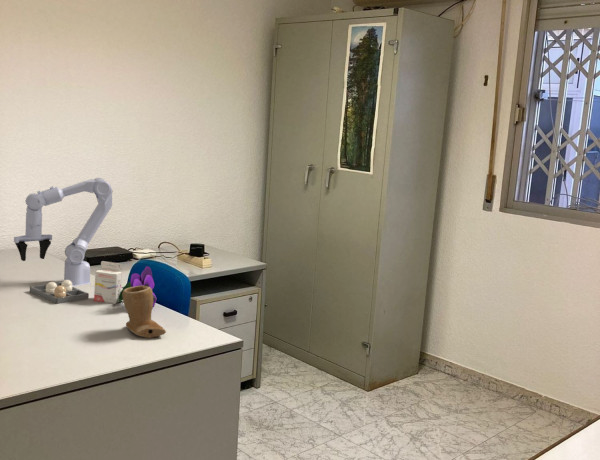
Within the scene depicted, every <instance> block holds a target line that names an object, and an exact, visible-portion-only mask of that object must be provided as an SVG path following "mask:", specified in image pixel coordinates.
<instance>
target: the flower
mask: <svg viewBox="0 0 600 460" xmlns="http://www.w3.org/2000/svg"><path fill="white" fill-rule="evenodd" d="M135 286H147V287H150V288H151V289H152V290H153V289H154V287H155V282H154V278H153V272H152V268H151V267H150V266H145V267H144V269H143V270H142V272H141V274H139V273H136V272H135V273H132V274H131V277H130V281H128V283H126V284H125V285H124V286H123V288H121V292H120V295H119V298H118V299H119V303H121V304H123V303H124V302H123V296H122V293H123V290H125V289H126V288H129V287H135ZM156 302H157V296H156V295H155V293H154V292H153V307H152V308H154V307H155V304H156ZM123 305H124V304H123Z"/></svg>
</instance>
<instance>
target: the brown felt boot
mask: <svg viewBox="0 0 600 460" xmlns="http://www.w3.org/2000/svg"><path fill="white" fill-rule="evenodd" d="M153 293H154V292H153V289H151V288H150V287H147V286H135V287H129V288H126V289H125V290H123V293H122V296H123V300H122V301H123V302H124V304H123V305H124V308H125V309H126V312H127V314H128V316H127V317H128V319H129V320H128V321H127V322H125V326H126V328H127V329H128V330H129V331H130V332H132V333H133V334H135V335H136V336H139V337H142V338H148V339H152V338H156V337H160V336H162V335H165V334H166V333H167V330H166V329H165V328H163V326H161V325H160V324H159V323H158V322H156V321H155V320H153V319H152V312H153V308H154V307H153ZM123 302H122V303H123Z"/></svg>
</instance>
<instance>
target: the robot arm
mask: <svg viewBox="0 0 600 460" xmlns="http://www.w3.org/2000/svg"><path fill="white" fill-rule="evenodd" d="M113 191H114V190H113V188H112V186H111V184H110V182H108V181H107V180H105V179H104V178H102V177H95V178H94V179H93V178H92V179H88V180H87V179H86V180H83V181H80V182H77V183H74V184H72V185H68V186H65V187H63V188H59V187H57V186H53V185H52V186H50V187H49V188H48V189H45V190H41V191H40V190H38V191H36V192H37V193H35V192H32V193H29V194H28V195H27V196H26V198H25V201H24V202H25V204H26V205H27V206H26V212H25V235H19V236H14V237H13V243H14V244H15V246H16V248H17V250H18V252H19V256H20V260H21V261H23V262H26V259H27V250H28V249H27V248H28V243H26V242H38V243H39V259H41V260H45V257H46V254H47V251H48V249H49V247H50V246H51V244H52V240H53V235H52V234H49V233H48V234H42V231H43V230H42V228H43V223H42V222H43V213H42V209H43V207H46V206H50V205H53V204H57V203H60V202H62V201H63V199H64V198H65V197H68V196H71V195H75V194H79V193H83V192H84V193H85V192H86V193H91V194H94V195H95V196H96V200H97V203H98V204H97V205H96V207H95V209H94V210H93V211H92V213H91V215H90V216H89V218H88V220H86V222H85V224H84V225H83V227H82V229H81V230H80V232H79V234H78V235H77V237H76V238H74V239H73V241H72V242H71V243H70V244H68V245H67V246H66V247H65V248H64V254H65V256H66V259H65V260H64V268H63V269H64V271H63V272H64V274H63V276H64V277H63V280H62V281H61V282H63V281H64V280H70V281H71V282H72V287H77V286H83V285H91V284H92V283H91V267H90V263H89V262H87V261H85V260H84V259H85V254H86V251H87V250H88V246H89V244H90V242H91V240H92V238H93V237H94V235H95V234H96V232H97V231H98V230H99V228H100V226H101V225H102V223H103V221H104V220H105V218H106V217H107V215H108V213H109V212H110V210H111V209H112V207H113Z"/></svg>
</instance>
